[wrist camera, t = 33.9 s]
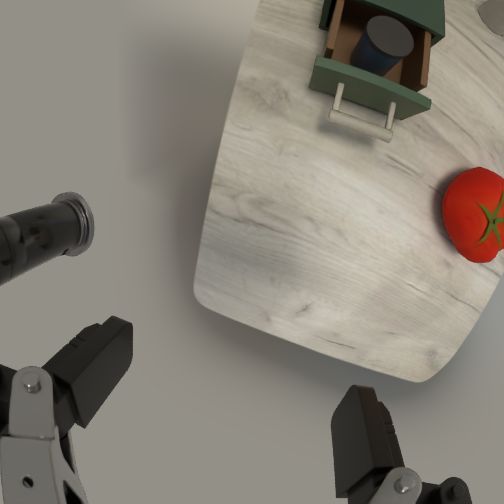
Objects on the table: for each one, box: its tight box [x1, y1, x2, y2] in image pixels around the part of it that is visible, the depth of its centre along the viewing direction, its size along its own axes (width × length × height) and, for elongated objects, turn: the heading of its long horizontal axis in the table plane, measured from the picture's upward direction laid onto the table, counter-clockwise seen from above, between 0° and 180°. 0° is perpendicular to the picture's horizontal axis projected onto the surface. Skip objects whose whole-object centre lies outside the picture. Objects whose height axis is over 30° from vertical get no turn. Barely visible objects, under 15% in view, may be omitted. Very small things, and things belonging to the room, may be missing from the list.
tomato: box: [442, 167, 504, 263], centre depth 27 cm, size 13×12×8 cm
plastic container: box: [350, 16, 414, 77], centre depth 22 cm, size 5×5×9 cm
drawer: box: [309, 0, 431, 143], centre depth 24 cm, size 18×12×8 cm
